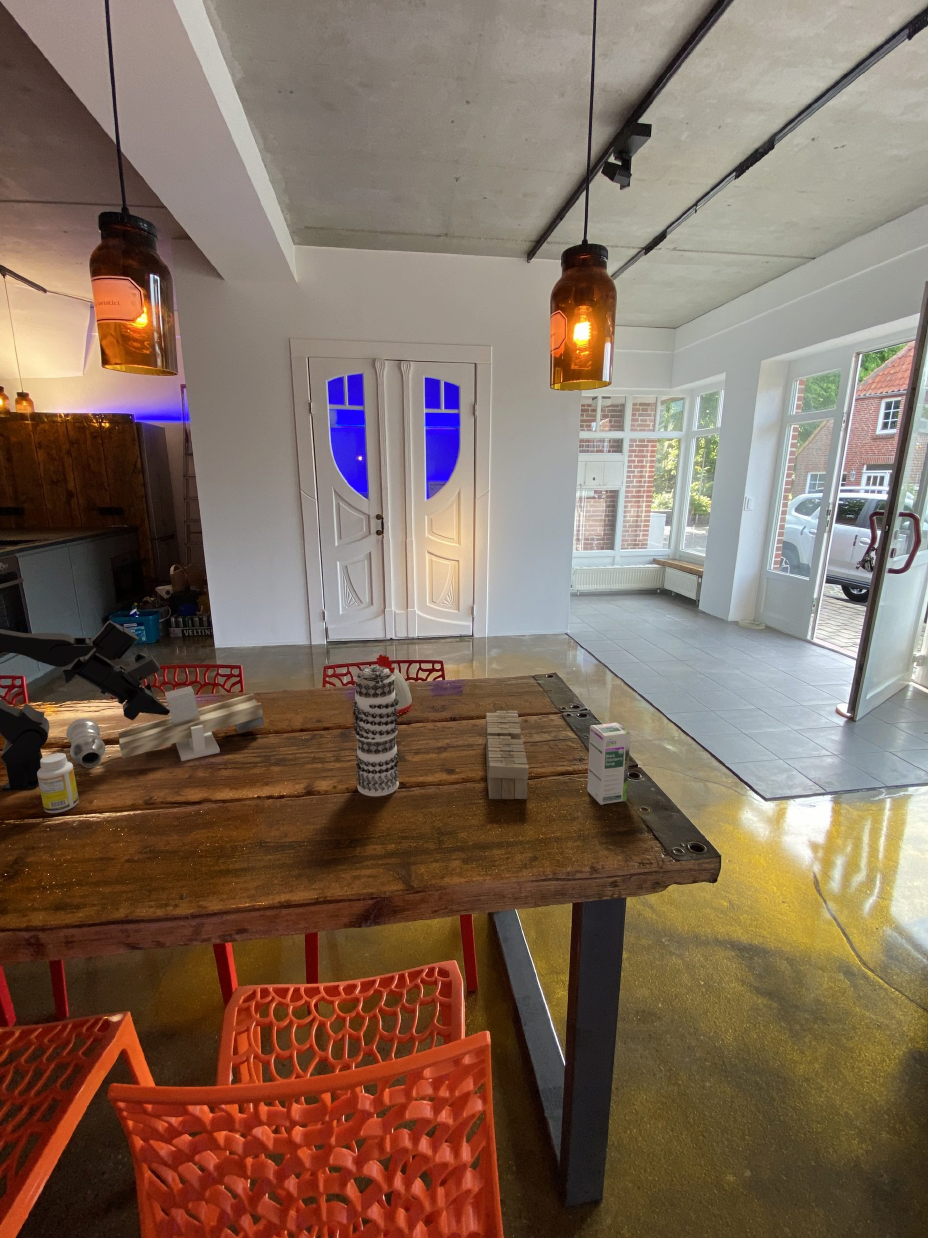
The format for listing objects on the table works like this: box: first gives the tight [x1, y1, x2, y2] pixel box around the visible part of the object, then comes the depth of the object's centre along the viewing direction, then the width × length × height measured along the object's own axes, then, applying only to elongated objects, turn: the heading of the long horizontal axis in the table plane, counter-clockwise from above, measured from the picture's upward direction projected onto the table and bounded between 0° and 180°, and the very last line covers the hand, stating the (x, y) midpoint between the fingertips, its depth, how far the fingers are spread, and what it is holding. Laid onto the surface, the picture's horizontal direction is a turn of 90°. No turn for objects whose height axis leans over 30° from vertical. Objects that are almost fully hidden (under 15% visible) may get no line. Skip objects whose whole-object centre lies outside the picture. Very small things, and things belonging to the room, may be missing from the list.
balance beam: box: [117, 693, 265, 759], centre depth 133 cm, size 30×8×6 cm, turn 123°
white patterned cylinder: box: [351, 665, 400, 797], centre depth 114 cm, size 9×9×25 cm
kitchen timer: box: [375, 654, 413, 714], centre depth 157 cm, size 14×14×15 cm
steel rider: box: [164, 685, 200, 728], centre depth 131 cm, size 6×4×8 cm
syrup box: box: [586, 721, 631, 806], centre depth 111 cm, size 6×6×14 cm
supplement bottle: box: [37, 752, 80, 814], centre depth 107 cm, size 6×6×10 cm
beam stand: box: [175, 725, 221, 762], centre depth 134 cm, size 8×14×7 cm, turn 33°
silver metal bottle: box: [65, 717, 107, 768], centre depth 128 cm, size 6×7×20 cm
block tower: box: [485, 710, 530, 800], centre depth 124 cm, size 8×8×29 cm
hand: (168, 713), depth 130 cm, fingers closed
